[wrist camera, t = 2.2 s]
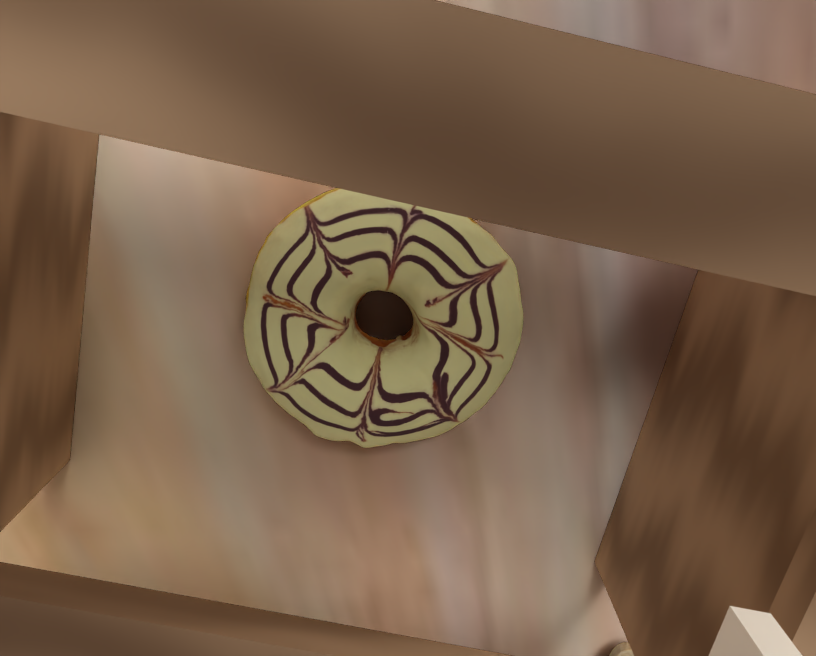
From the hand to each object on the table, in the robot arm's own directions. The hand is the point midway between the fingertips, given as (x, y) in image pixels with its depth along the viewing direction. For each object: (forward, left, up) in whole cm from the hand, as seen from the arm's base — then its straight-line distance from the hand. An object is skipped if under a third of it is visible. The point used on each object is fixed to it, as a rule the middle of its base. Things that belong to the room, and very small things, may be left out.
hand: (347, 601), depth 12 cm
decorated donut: (0, 0, -18) cm, 18 cm away
